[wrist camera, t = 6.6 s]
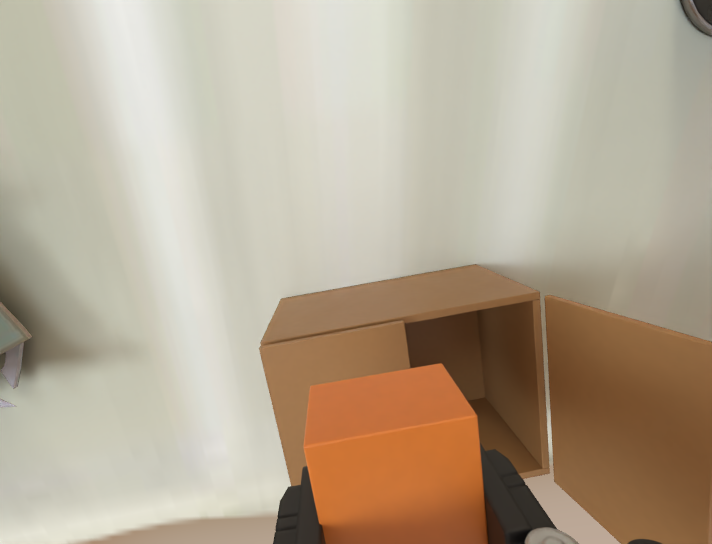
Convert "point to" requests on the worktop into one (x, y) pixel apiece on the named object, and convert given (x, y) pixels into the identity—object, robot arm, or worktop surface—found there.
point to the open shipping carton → (418, 352)
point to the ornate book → (11, 347)
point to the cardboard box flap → (631, 423)
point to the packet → (396, 460)
